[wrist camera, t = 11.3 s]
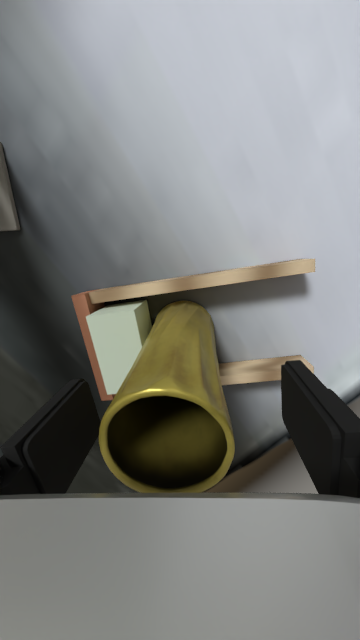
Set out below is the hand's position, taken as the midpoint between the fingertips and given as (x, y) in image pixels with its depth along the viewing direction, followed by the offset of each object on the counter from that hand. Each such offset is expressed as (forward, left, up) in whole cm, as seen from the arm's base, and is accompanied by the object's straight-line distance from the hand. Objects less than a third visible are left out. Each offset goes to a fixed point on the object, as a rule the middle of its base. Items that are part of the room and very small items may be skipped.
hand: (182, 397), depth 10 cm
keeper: (+6, 0, -12) cm, 13 cm away
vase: (+1, +1, -12) cm, 12 cm away
